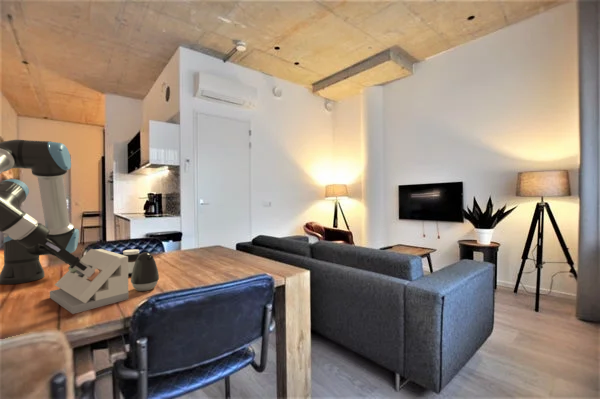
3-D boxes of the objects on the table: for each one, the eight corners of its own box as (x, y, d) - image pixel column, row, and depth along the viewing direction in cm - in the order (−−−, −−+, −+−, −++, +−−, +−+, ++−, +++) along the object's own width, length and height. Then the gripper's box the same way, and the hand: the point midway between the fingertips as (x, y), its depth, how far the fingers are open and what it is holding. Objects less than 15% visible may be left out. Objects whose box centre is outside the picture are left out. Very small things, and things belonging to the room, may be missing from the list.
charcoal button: (74, 276, 108) (74, 264, 108) (88, 274, 111) (88, 262, 111) (78, 278, 105) (78, 266, 105) (93, 275, 109) (92, 263, 109)
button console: (49, 297, 110) (49, 254, 110) (101, 286, 124) (101, 247, 124) (72, 314, 96) (72, 263, 95) (128, 299, 109) (128, 255, 109)
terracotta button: (85, 282, 103) (85, 269, 103) (100, 279, 107) (100, 267, 107) (90, 284, 101) (89, 271, 101) (104, 281, 105) (104, 268, 105)
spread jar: (144, 274, 143) (144, 250, 143) (120, 279, 134) (120, 254, 134) (131, 270, 150) (131, 247, 150) (107, 275, 140) (107, 251, 140)
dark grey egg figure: (140, 295, 114) (139, 256, 113) (125, 290, 119) (125, 253, 119) (164, 288, 122) (164, 251, 122) (150, 283, 128) (149, 249, 128)
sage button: (66, 272, 113) (66, 261, 113) (80, 270, 116) (80, 259, 116) (70, 274, 110) (70, 262, 110) (84, 272, 114) (84, 260, 114)
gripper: (11, 239, 91) (76, 279, 105) (20, 243, 83) (89, 286, 97) (33, 221, 95) (93, 262, 109) (44, 223, 87) (107, 267, 101)
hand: (91, 273), depth 103 cm, fingers closed
